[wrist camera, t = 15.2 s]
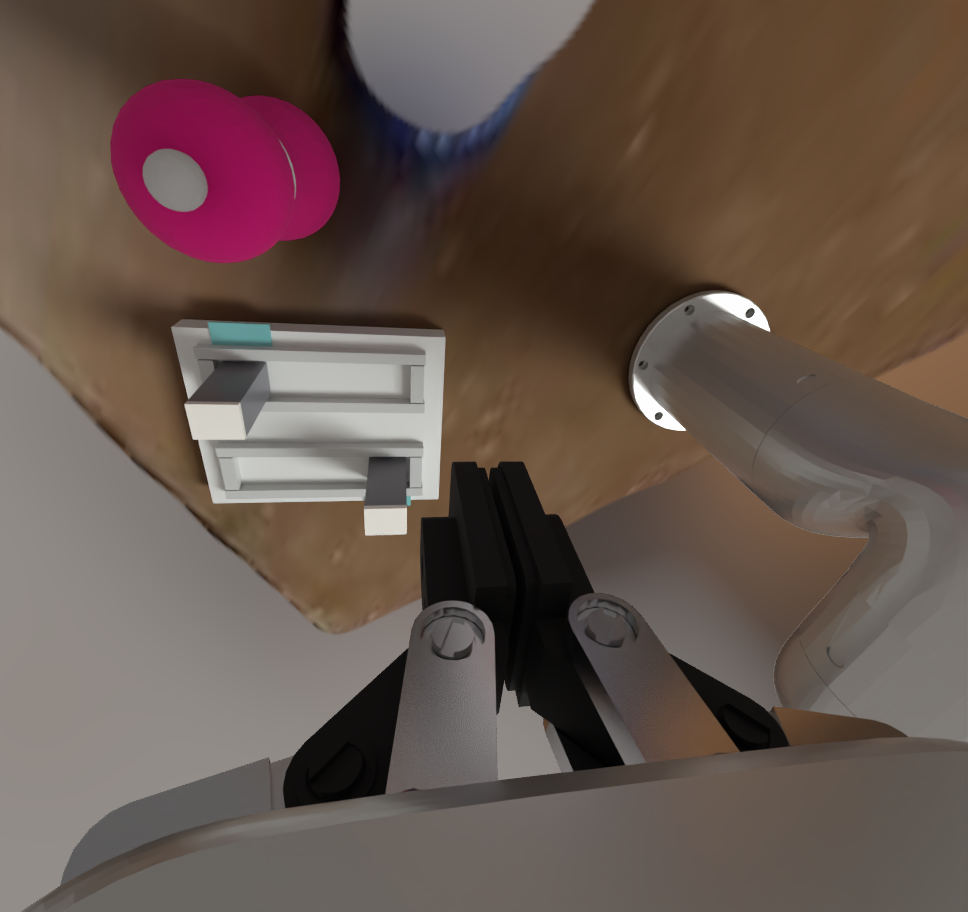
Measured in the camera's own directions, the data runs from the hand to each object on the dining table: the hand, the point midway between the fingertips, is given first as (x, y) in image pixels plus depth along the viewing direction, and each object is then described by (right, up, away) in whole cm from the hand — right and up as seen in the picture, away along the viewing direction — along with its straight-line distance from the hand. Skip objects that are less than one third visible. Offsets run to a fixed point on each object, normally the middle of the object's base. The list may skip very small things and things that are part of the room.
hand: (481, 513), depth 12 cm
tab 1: (-17, +7, +24) cm, 31 cm away
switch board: (-13, +5, +29) cm, 32 cm away
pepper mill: (-13, +20, +20) cm, 31 cm away
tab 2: (-8, 0, +30) cm, 31 cm away
